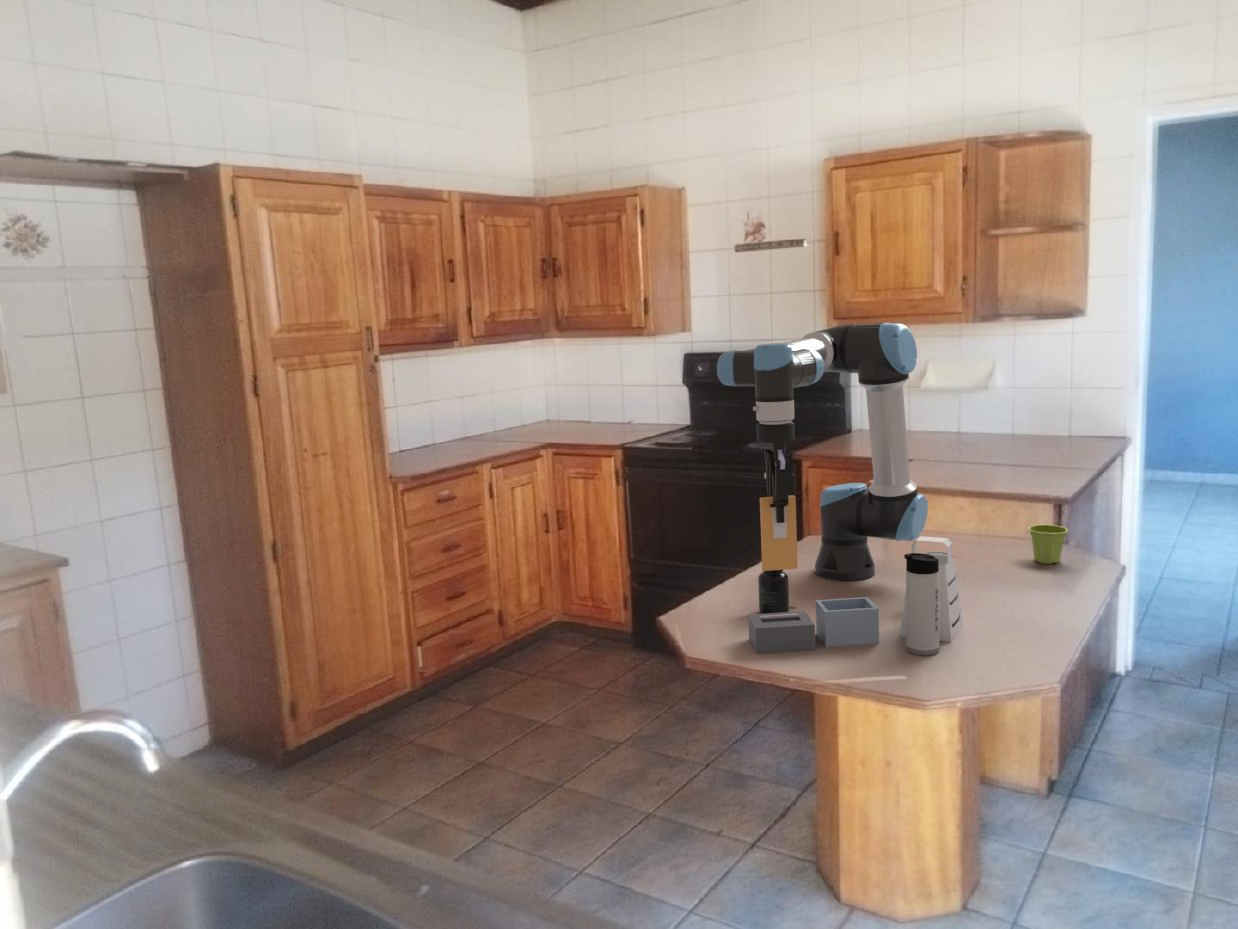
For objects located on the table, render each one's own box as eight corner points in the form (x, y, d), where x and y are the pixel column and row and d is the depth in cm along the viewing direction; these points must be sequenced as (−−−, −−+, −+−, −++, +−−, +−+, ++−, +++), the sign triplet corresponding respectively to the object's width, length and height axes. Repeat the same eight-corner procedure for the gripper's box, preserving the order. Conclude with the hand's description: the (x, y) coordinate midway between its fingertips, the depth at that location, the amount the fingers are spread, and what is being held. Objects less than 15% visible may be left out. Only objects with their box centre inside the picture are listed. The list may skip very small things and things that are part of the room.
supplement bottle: (771, 605, 230) (769, 556, 228) (795, 611, 225) (793, 560, 223) (753, 613, 225) (751, 562, 223) (777, 619, 220) (775, 567, 218)
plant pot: (1069, 558, 255) (1070, 526, 254) (1064, 567, 247) (1064, 534, 246) (1031, 555, 260) (1032, 523, 259) (1024, 564, 252) (1025, 531, 251)
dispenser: (756, 656, 197) (755, 626, 196) (749, 641, 206) (748, 612, 205) (815, 653, 198) (814, 622, 197) (805, 638, 207) (804, 608, 206)
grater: (951, 642, 200) (951, 547, 197) (900, 635, 205) (899, 543, 202) (963, 626, 209) (963, 535, 205) (913, 620, 214) (913, 531, 211)
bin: (816, 636, 207) (815, 600, 206) (867, 633, 208) (867, 597, 206) (825, 649, 199) (825, 612, 198) (879, 646, 200) (878, 608, 198)
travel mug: (900, 646, 199) (899, 551, 195) (931, 644, 199) (931, 549, 196) (911, 657, 193) (911, 559, 189) (944, 654, 193) (944, 556, 190)
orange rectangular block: (763, 571, 199) (761, 498, 196) (762, 569, 200) (759, 497, 198) (797, 568, 199) (795, 496, 196) (796, 566, 200) (793, 495, 198)
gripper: (750, 418, 201) (754, 529, 205) (763, 427, 187) (767, 546, 191) (786, 416, 202) (789, 527, 206) (802, 424, 187) (805, 543, 191)
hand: (778, 536), depth 198 cm, fingers closed on orange rectangular block, 1 cm apart
